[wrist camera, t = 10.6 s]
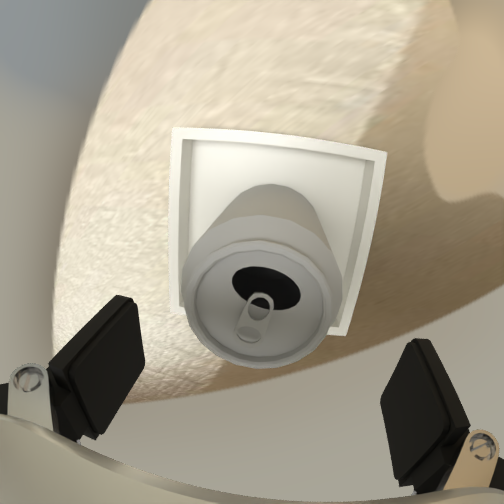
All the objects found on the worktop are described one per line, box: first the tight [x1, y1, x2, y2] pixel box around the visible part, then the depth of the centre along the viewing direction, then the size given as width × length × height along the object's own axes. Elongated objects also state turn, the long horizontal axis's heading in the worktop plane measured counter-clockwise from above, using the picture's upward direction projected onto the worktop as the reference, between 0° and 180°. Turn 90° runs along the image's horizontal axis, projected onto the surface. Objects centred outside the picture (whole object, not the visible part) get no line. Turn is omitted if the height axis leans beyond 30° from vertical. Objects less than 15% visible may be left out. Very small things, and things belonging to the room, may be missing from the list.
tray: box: [168, 128, 387, 336], centre depth 22 cm, size 15×15×3 cm
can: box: [181, 184, 342, 369], centre depth 17 cm, size 8×8×12 cm
